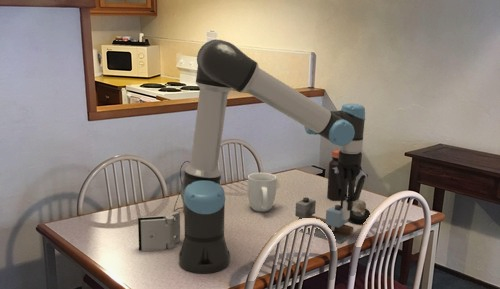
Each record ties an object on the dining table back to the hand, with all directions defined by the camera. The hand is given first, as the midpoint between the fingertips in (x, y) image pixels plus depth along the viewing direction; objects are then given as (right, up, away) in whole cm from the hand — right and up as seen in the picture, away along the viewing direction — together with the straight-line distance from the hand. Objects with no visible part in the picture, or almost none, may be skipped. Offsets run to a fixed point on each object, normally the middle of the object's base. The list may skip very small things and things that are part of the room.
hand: (345, 218), depth 169 cm
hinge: (-61, -7, -11) cm, 62 cm away
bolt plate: (-9, -5, +2) cm, 11 cm away
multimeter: (-54, 0, +22) cm, 58 cm away
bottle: (+3, +3, +38) cm, 38 cm away
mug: (-28, 0, +23) cm, 36 cm away
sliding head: (-3, -4, +3) cm, 5 cm away
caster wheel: (+8, -3, +16) cm, 18 cm away
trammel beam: (-6, -4, +6) cm, 10 cm away
